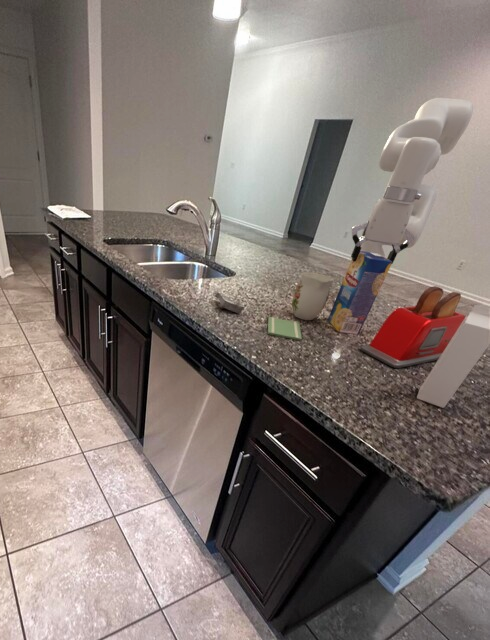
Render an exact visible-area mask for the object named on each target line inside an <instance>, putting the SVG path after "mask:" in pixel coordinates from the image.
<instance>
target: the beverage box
mask: <svg viewBox="0 0 490 640" xmlns="http://www.w3.org/2000/svg"><path fill="white" fill-rule="evenodd" d="M387 258H388V257H387ZM387 258H386V256H385V257H383V256H381V255H379V254H377V253H371V252H364V251H360V253H359V255H358V258H357V260H356V261H355V262H354V261H352V259H351V260H350V262H349V265H348V267H347V269H346V272H345V275H344V278H343V280H342V282H341V284H340V288H339V290H338V293H337V294H336V296H335V298H336V300H335V299H334V300H335V302H334V301H333V305H332V307H331V311H330V312H329V315H328V317H327V321H328V322H329V323H330V324H331V325H332V326H333V328H334V329H335V330H336V331H337V333H346V334H354V335H360V333H361V331H362V328H363V326H364V324H365V322H366V320H367V318H368V316H369V313H370V311H371V309H372V307H373V305H374V303H375V300H376V298H377V296H378V294H379V292H380V290H381V288H382V286H383V283H384V282H385V280H386V277H387V275H388V273H389V271H390V269H391V266H392V265H393V264H392V261H390V260H389V259H387Z"/></svg>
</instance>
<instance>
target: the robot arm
mask: <svg viewBox="0 0 490 640" xmlns="http://www.w3.org/2000/svg"><path fill="white" fill-rule="evenodd" d="M473 113H474V105H473V102H472V101H471V100H469V99H461V98H450V97H449V98H448V97H435V98H431V99H429V100H427V101H425V102H424V103H423V104H422V105H421V106H420V107H419V108H418V110H417V112H416V114H415V116H414V118H413V119H410V120H408V121H407V122H405V123H403V124H400V125H399V126H398V127H396V128H395V129H394V130H393V131H392V132H391V134H390V135H389V137H388V139H387V141H386V143H385V144H384V146H383V148H382V151H381V153H380V157H379V163H378V164H379V168H380V170H382V171H383V172H389V173H391V175H390V177H389V180H388V182H387V185H386V187H385V189H384V192H383V195H382V197H381V198H379V199H378V200H377V202H376V203H375V205H374V207H373V209H372V211H371V212H370V214H369V217H368V219H367V221H366V222H364V223H361V224H357V225H354V226H352V227H351V238H352V241H353V244H354V248H353V250H352V253H351V254H350V255H351V256H350V258H351V260H352V261H354V262H355V261H356V260H357V258H358V255H359V253H360V251H364V252H371V253H377V254H379V255H381V256H383V257H385V258H386V255H385V251H384V248H383V246H390V247H391V248H392V250H390V251H389V254H388V255H387V259H389V260H390V261H392V264H391V265H393V264H394V261H395V259H396V257H397V256H398V254H399V253H401V251H404V250H405V249H410V248H413V247H414V246H415V245H416V244H417V243H418V241H419V239H420V238H421V236H422V233H423V231H424V229H425V226H426V224H427V221H428V218H429V217H430V213H431V212H432V209H433V207H434V204H435V201H436V198H437V189H436V187H435V186H433V185H430V184H425V183H422V182H423V180H424V178H425V176H426V175H428V174H429V173H430V172H431V171H432V170H434V169H435V168H436V165H437V164H438V162H439V160H440V157H441V156H442V155H443V156H444V155H447V154H448V153H450V152H451V151H452V150H453V149H454V148H455V147H456V145H457V143H458V142H459V141H460V139H461V137H462V136H463V135H464V133H465V131H466V130H467V127H468V126H469V124H470V121H471V119H472V116H473ZM361 230H362V232H361V236H360V237H359V236H358V232H359V231H361ZM335 300H336V297H335V298H334V300H333V303H334V302H335Z"/></svg>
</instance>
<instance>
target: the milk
mask: <svg viewBox="0 0 490 640" xmlns="http://www.w3.org/2000/svg"><path fill="white" fill-rule="evenodd" d="M488 347H490V307H488V306H483V305H480V304H475V305H473V307H472V308H471V310H470V311H469V313H468V314H466V317H465V319H464V320H463V322H462V323H461V325H460V326H459V328H458V329H457V331H456V333H455V334H454V336H453V337H452V339H451V340H450V342H449V344H448V345H447V347H446V348H445V350H444V351H443V353H442V354H441V356H440V358H439V359H438V360H436V362H435V364H434V366H433V367H432V369H430V371H429V373H428V375H427V376H426V378H425V379H424V381H423V382H422V384H421V386H420V387H419V389H418V392H417V395H416V399H418V400H420V401H423V402H425V403H428V404H431V405H434V406H437V407H440V408H442V409H445V407H447V404H448V403H449V402H450V400H451V399H452V397H454V395H455V394H456V392H457V391H458V389H459V388H460V386H461V385H462V384H463V382H464V381H465V379H466V378H467V376H469V374H470V373H471V371H472V370H473V368H474V367H475V365H476V364H477V363H478V362H479V360H480V358H481V357H482V356H483V354H484V353H485V352H486V350H487V349H488Z"/></svg>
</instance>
